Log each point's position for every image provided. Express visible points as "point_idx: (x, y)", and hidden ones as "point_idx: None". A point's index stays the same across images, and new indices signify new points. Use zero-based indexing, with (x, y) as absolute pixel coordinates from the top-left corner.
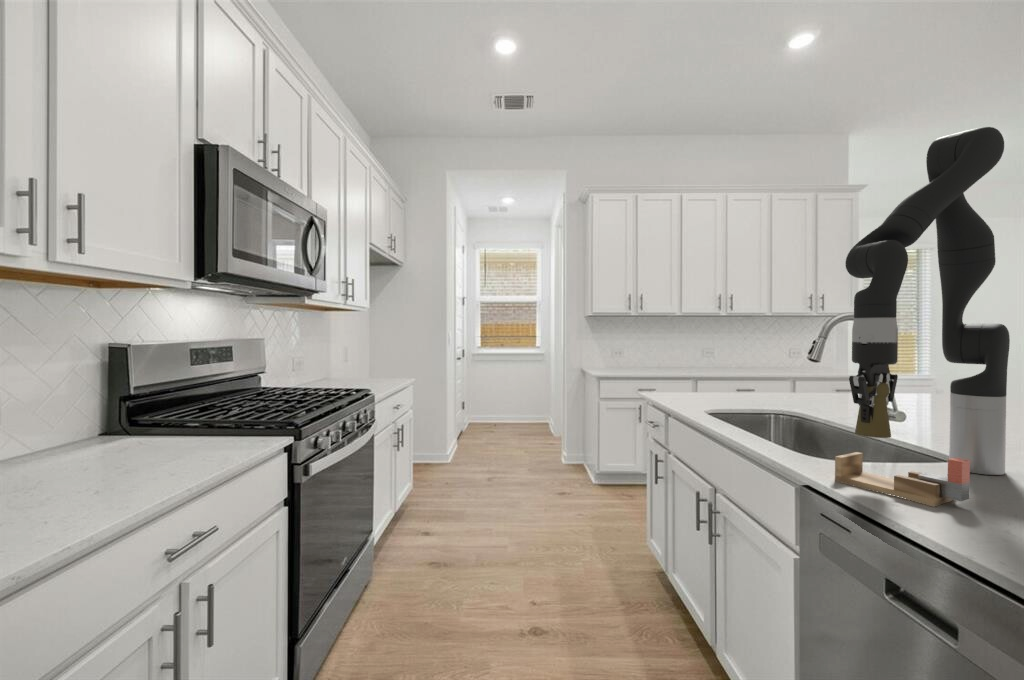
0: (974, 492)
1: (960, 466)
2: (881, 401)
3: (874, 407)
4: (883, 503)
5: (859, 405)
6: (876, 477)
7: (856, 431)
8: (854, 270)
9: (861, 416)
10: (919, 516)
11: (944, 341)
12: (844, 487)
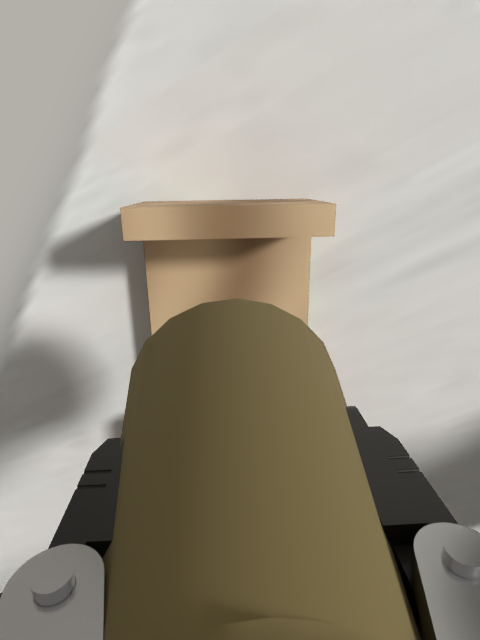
0: (433, 471)
1: None
2: None
3: None
4: (58, 418)
5: (44, 555)
6: (270, 301)
7: (148, 346)
8: None
9: (83, 478)
10: (47, 506)
11: None
12: (98, 270)
